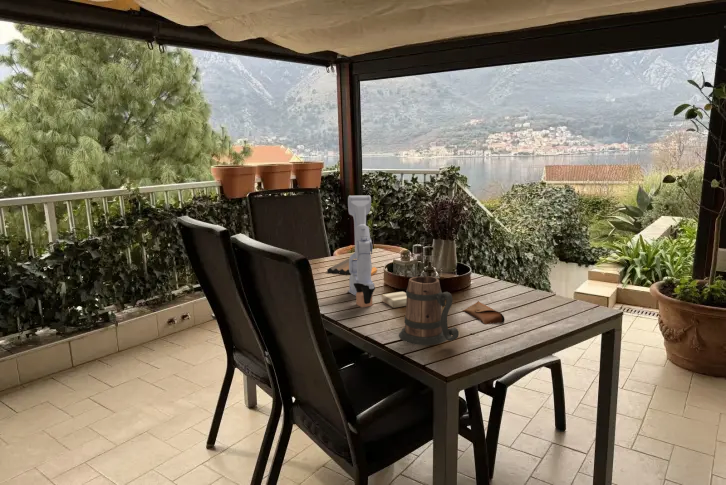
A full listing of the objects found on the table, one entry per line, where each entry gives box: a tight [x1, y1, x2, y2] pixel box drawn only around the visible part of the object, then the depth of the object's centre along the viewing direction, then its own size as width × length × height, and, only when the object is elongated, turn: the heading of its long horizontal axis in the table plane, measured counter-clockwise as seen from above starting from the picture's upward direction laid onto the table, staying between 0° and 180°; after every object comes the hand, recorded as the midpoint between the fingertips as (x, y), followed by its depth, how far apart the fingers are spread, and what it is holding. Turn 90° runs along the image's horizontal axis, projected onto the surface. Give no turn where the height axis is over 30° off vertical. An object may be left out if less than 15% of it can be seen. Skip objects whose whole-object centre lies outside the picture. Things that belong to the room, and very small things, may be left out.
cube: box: [355, 292, 373, 308], centre depth 202 cm, size 5×5×5 cm
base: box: [381, 290, 407, 309], centre depth 205 cm, size 10×10×3 cm
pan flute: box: [326, 258, 378, 276], centre depth 265 cm, size 25×3×25 cm
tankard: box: [398, 276, 460, 346], centre depth 163 cm, size 24×17×20 cm
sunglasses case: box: [462, 300, 506, 325], centre depth 187 cm, size 18×7×7 cm
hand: (364, 301), depth 202 cm, fingers closed on cube, 5 cm apart
